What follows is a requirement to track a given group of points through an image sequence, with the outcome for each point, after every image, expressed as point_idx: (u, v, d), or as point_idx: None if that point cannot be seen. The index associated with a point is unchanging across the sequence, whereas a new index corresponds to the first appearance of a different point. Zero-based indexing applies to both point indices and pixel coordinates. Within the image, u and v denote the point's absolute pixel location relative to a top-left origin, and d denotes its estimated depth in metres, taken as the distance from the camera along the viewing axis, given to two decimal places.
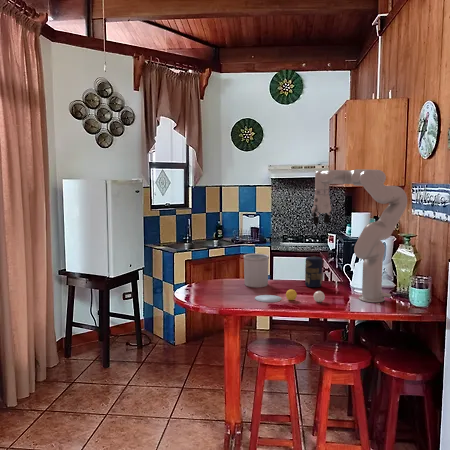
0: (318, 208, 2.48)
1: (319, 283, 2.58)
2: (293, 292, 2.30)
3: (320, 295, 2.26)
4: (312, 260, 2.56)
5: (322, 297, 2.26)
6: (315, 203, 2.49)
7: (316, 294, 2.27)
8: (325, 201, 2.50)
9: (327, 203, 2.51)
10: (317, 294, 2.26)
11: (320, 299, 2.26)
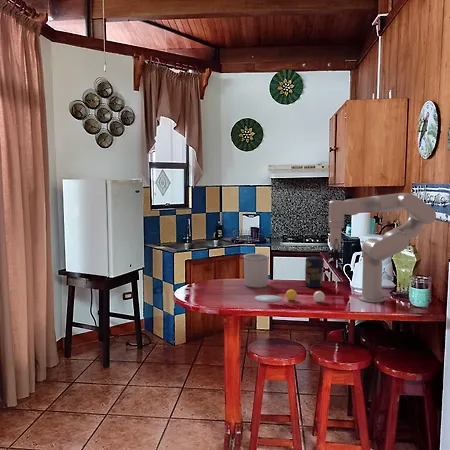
0: None
1: (319, 283, 2.58)
2: (293, 292, 2.30)
3: (320, 295, 2.26)
4: (312, 260, 2.56)
5: (322, 297, 2.26)
6: None
7: (316, 294, 2.27)
8: None
9: (330, 237, 2.28)
10: (317, 294, 2.26)
11: (320, 299, 2.26)
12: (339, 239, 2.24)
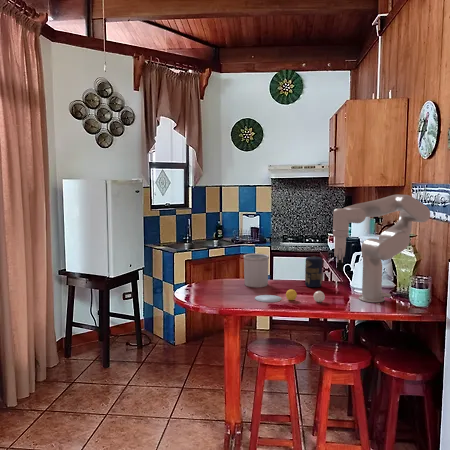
0: None
1: (319, 283, 2.58)
2: (293, 292, 2.30)
3: (320, 295, 2.26)
4: (312, 260, 2.56)
5: (322, 297, 2.26)
6: None
7: (316, 294, 2.27)
8: None
9: None
10: (317, 294, 2.26)
11: (320, 299, 2.26)
12: (343, 248, 2.18)
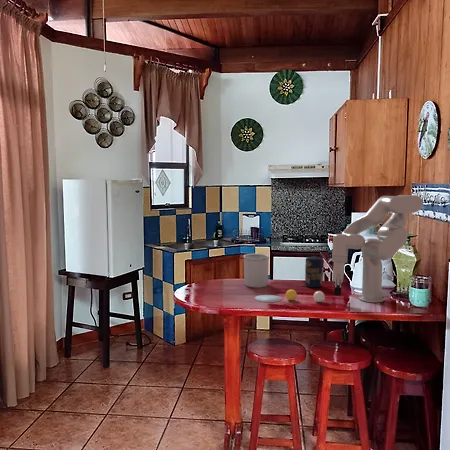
0: None
1: (319, 283, 2.58)
2: (293, 292, 2.30)
3: (320, 295, 2.26)
4: (312, 260, 2.56)
5: (322, 297, 2.26)
6: None
7: (316, 294, 2.27)
8: None
9: None
10: (317, 294, 2.26)
11: (320, 299, 2.26)
12: (342, 274, 2.19)
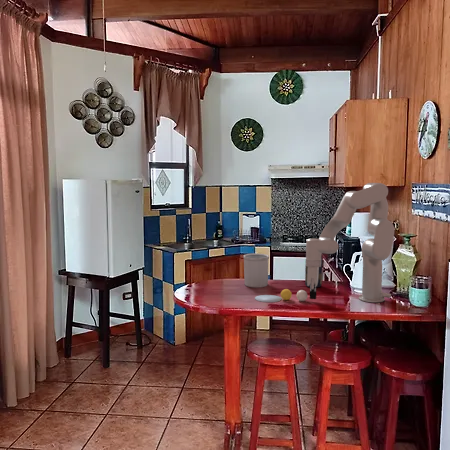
0: None
1: (319, 283, 2.58)
2: (284, 291, 2.31)
3: (299, 298, 2.29)
4: None
5: (298, 295, 2.29)
6: None
7: (302, 300, 2.29)
8: None
9: (307, 275, 2.27)
10: (301, 299, 2.29)
11: (300, 294, 2.28)
12: (315, 278, 2.23)
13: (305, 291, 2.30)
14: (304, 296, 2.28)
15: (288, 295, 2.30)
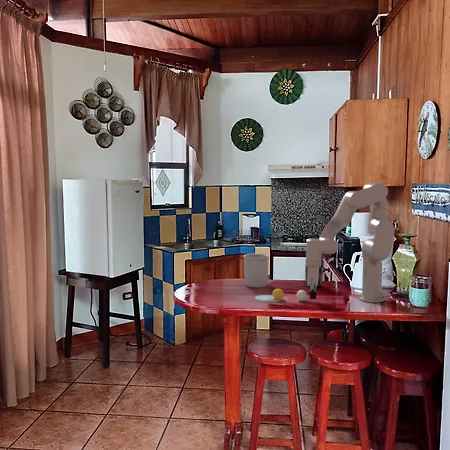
0: None
1: (319, 283, 2.58)
2: (273, 295, 2.33)
3: (299, 298, 2.29)
4: None
5: (298, 295, 2.29)
6: None
7: (302, 300, 2.29)
8: None
9: None
10: (301, 299, 2.29)
11: (300, 294, 2.28)
12: (315, 278, 2.23)
13: (305, 291, 2.30)
14: (304, 296, 2.28)
15: (277, 292, 2.31)
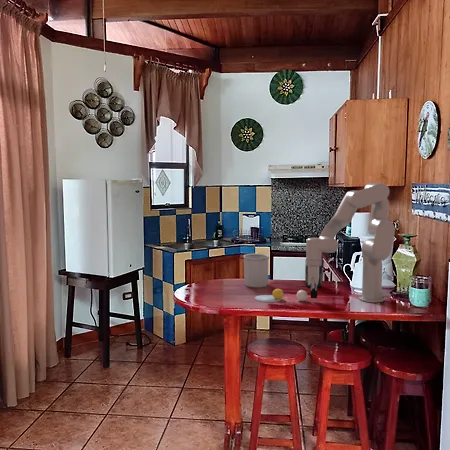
0: None
1: (319, 283, 2.58)
2: (273, 295, 2.33)
3: (299, 298, 2.29)
4: None
5: (298, 295, 2.29)
6: None
7: (302, 300, 2.29)
8: None
9: None
10: (301, 299, 2.29)
11: (300, 294, 2.28)
12: (316, 277, 2.23)
13: (305, 291, 2.30)
14: (304, 296, 2.28)
15: (277, 292, 2.31)
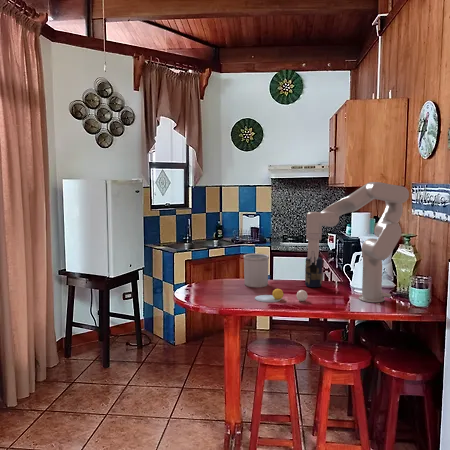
0: None
1: (319, 283, 2.58)
2: (273, 295, 2.33)
3: (299, 298, 2.29)
4: None
5: (298, 295, 2.29)
6: None
7: (302, 300, 2.29)
8: None
9: None
10: (301, 299, 2.29)
11: (300, 294, 2.28)
12: (316, 251, 2.22)
13: (305, 291, 2.30)
14: (304, 296, 2.28)
15: (277, 292, 2.31)
